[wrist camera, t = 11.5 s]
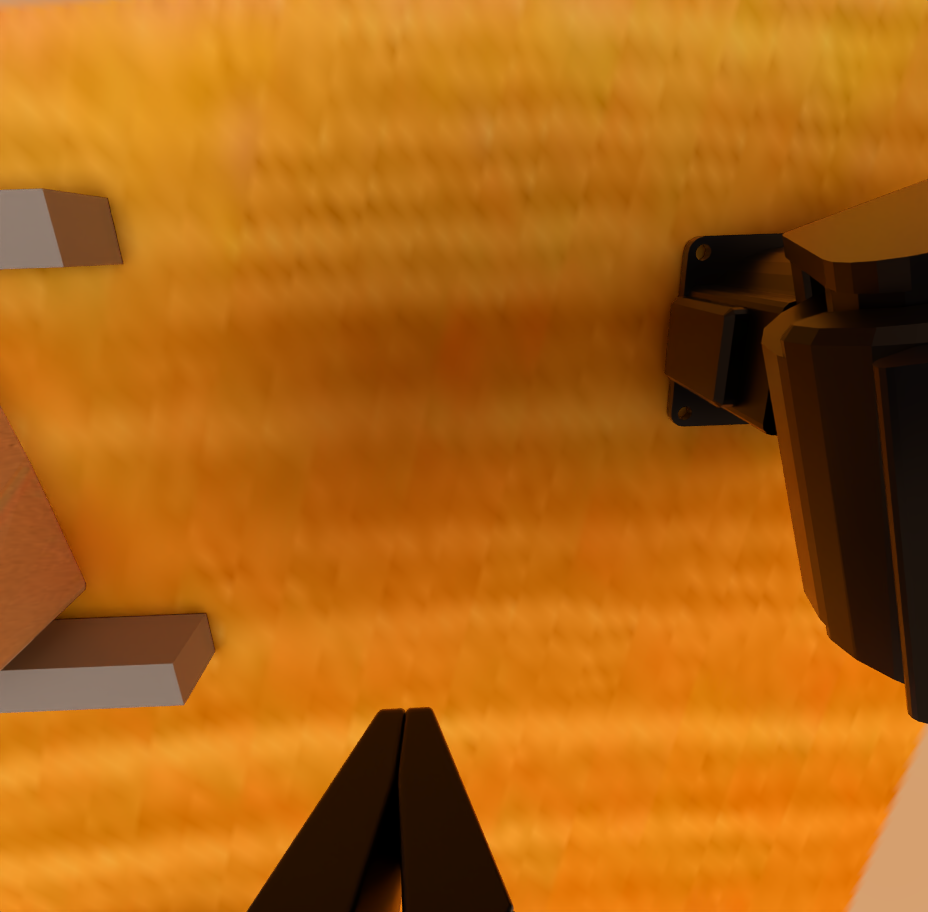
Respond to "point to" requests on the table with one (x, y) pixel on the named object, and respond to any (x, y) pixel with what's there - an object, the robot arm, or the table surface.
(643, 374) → the table surface
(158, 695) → the grey frame stand
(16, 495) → the sandwich container
